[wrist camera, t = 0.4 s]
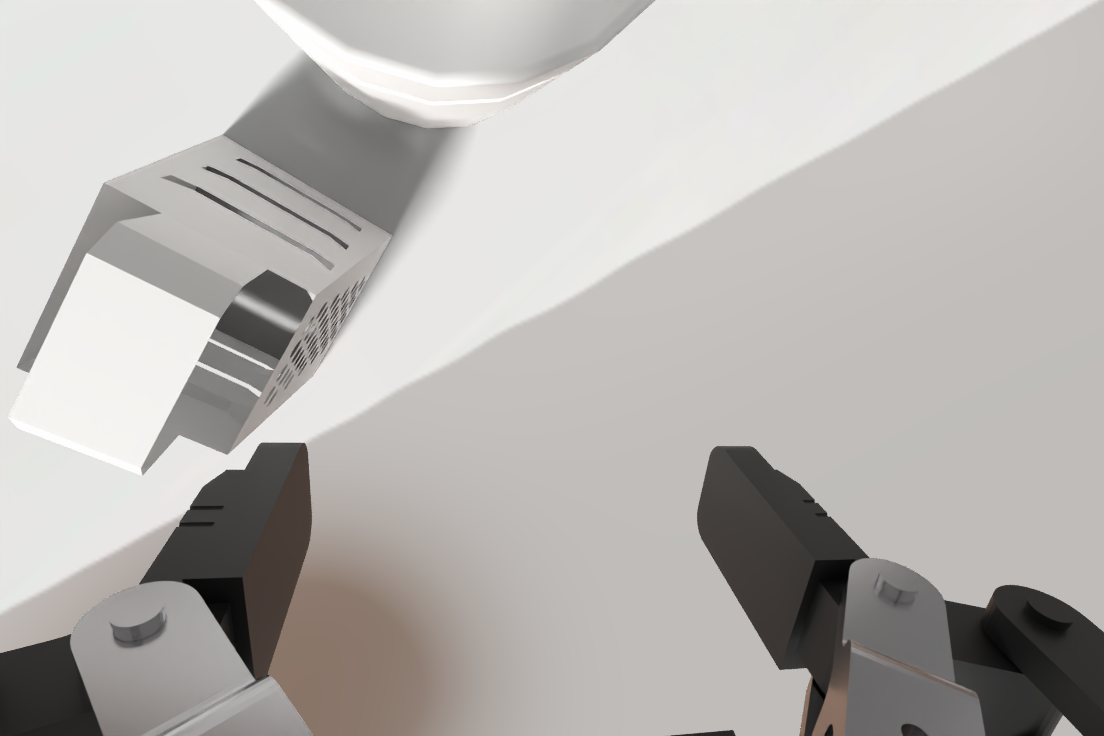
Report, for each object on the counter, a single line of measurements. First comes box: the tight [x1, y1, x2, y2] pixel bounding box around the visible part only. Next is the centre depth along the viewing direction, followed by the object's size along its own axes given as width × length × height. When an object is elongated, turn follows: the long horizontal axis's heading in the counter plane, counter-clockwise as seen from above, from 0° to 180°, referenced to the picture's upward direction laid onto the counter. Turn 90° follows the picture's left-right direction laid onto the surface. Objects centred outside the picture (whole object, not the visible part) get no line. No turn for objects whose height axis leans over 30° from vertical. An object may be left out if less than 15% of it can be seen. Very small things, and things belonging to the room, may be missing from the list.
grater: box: [8, 135, 393, 476], centre depth 27 cm, size 10×10×20 cm
